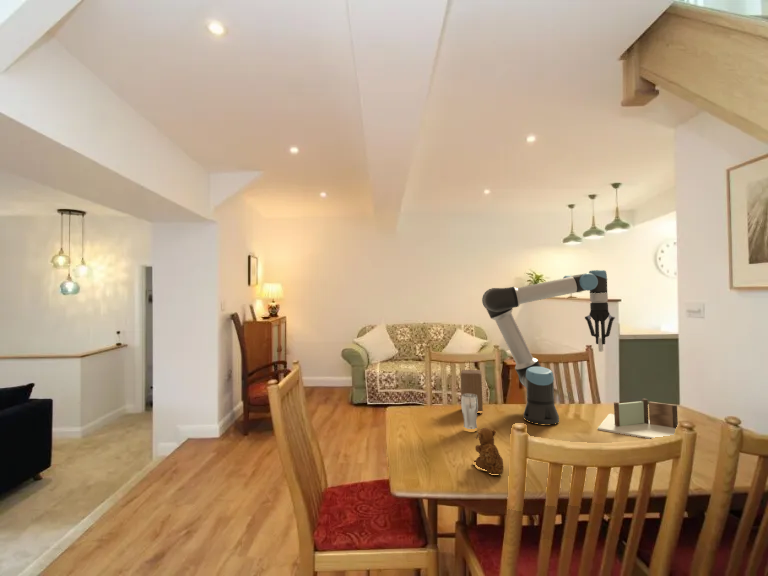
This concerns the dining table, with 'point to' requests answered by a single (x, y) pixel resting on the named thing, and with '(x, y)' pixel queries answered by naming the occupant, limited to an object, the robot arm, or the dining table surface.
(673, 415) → the fixed fence
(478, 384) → the wooden block
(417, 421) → the dining table surface
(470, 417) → the beer glass
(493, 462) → the brown plush animal
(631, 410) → the green fence panel
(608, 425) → the card
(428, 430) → the dining table surface
